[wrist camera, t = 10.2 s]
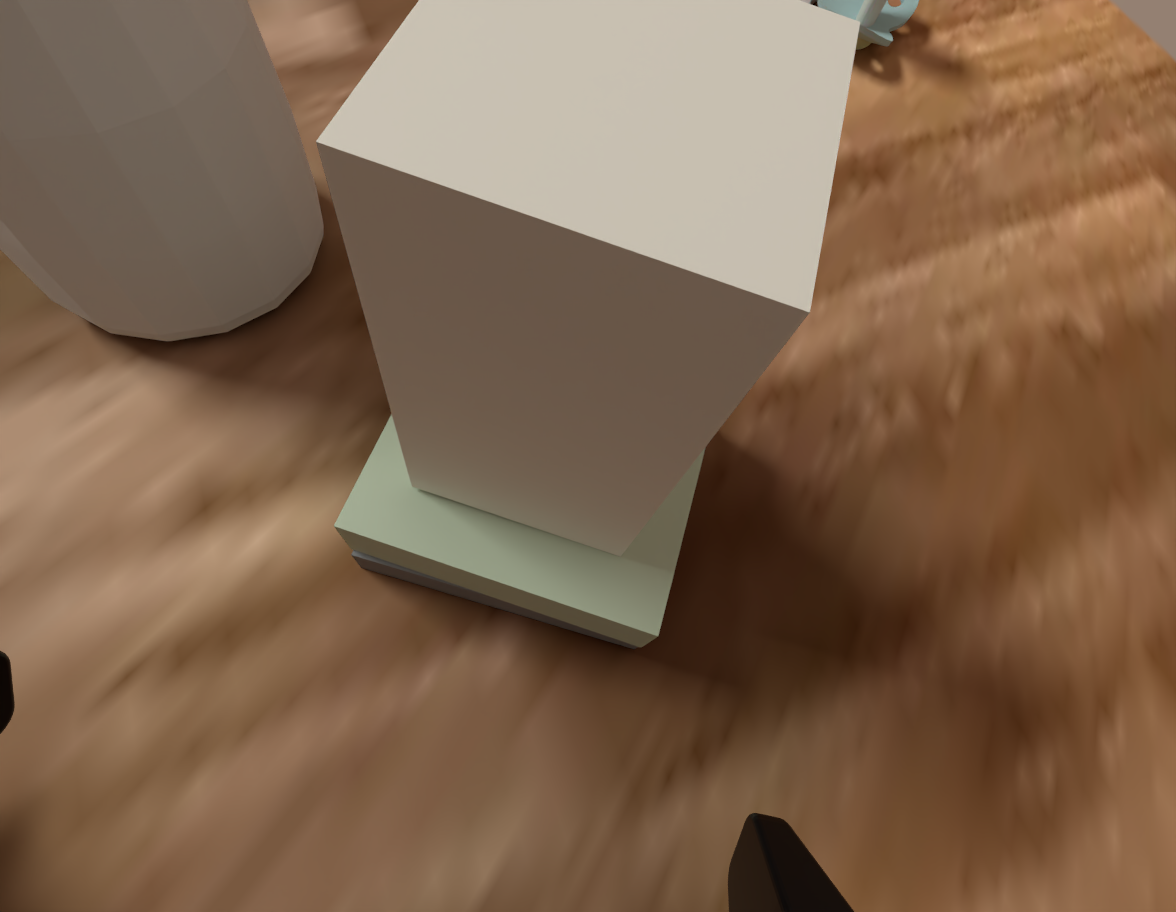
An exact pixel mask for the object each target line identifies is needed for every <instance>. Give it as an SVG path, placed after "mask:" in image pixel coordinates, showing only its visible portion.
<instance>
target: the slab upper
mask: <svg viewBox="0 0 1176 912" xmlns="http://www.w3.org/2000/svg"><path fill="white" fill-rule="evenodd" d="M705 448H706V447H705ZM705 448H704V450H703V451H702V452H701V454H700V455H699V456H698V457H697V459H696V460H695V461H694V463H693V464H692V465H691V466H690V468H689V469H688V470H687V472H686V473H685V474H684V476H683V477H682V478H681V479H680V481H679V482H678V483H677V485H676V486H675V487H674V488H673V490H672V491H671V492H670V494H669V495H668V496H667V497H666V499H665V500H664V501H663V503H662V504H661V505H660V506H659V508H658V509H657V510H656V512H655V513H654V514H653V516H652V517H651V518H650V519H649V521H648V522H647V523H646V525H645V526H644V527H643V528H642V530H641V531H640V532H639V534H638V535H637V536H636V537H635V539H634V540H633V541H632V543H631V544H630V545H629V547H628V548H627V549H626V550H625V552H624V553H623V554H622V556H621V557H620V556H617V555H614V554H611V553H608V552H605V551H602V550H599V549H596V548H593V547H590V546H587V545H584V544H581V543H578V542H575V541H572V540H569V539H566V538H563V537H560V536H557V535H554V534H551V533H548V532H545V531H542V530H540V529H537V528H534V527H531V526H528V525H525V524H522V523H519V522H516V521H513V520H510V519H507V518H504V517H501V516H498V515H495V514H492V513H489V512H486V511H483V510H480V509H477V508H474V507H471V506H468V505H465V504H462V503H459V502H456V501H453V500H450V499H448V498H445V497H442V496H439V495H436V494H433V493H430V492H427V491H424V490H421V489H418V488H415V487H412V485H411V482H410V478H409V475H408V471H407V467H406V464H405V460H404V457H403V453H402V449H401V446H400V442H399V439H398V435H397V431H396V428H395V424H394V421H393V417H392V414H391V416H390V418H389V420H388V422H387V424H386V426H385V428H384V430H383V432H382V434H381V436H380V437H379V439H378V441H377V443H376V445H375V447H374V449H373V451H372V453H371V455H370V457H369V459H368V461H367V463H366V465H365V467H364V468H363V470H362V472H361V474H360V476H359V478H358V480H357V482H356V484H355V486H354V488H353V490H352V492H351V494H350V496H349V497H348V499H347V501H346V503H345V505H344V507H343V509H342V511H341V513H340V515H339V517H338V519H337V521H336V523H335V525H334V527H335V528H336V530H337V531H338V532H339V534H340V535H341V536H342V538H343V539H344V540H345V541H346V543H347V544H348V545H349V547H350V548H351V549H353V550H355V551H358V552H361V553H364V554H367V555H370V556H373V557H376V558H379V559H382V560H385V561H388V562H391V563H394V564H397V565H400V566H402V567H405V568H408V569H411V570H414V571H417V572H420V573H423V574H426V575H429V576H432V577H435V578H438V579H441V580H444V581H446V582H449V583H452V584H455V585H458V586H461V587H464V588H467V589H470V590H473V591H476V592H479V593H482V594H485V595H488V596H491V597H493V598H496V599H499V600H502V601H505V602H508V603H511V604H514V605H517V606H520V607H523V608H526V609H529V610H532V611H535V612H538V613H540V614H543V615H546V616H549V617H552V618H555V619H558V620H561V621H564V622H567V623H570V624H573V625H576V626H579V627H582V628H584V629H587V630H590V631H593V632H596V633H599V634H602V635H605V636H608V637H611V638H614V639H617V640H620V641H623V642H626V643H629V644H631V645H634V646H637V647H640V648H641V647H643V646H644V645H646V644H647V643H649V642H651V641H652V640H654V639H655V638H657V637H658V636H659V632H660V628H661V624H662V620H663V616H664V612H665V608H666V604H667V600H668V596H669V592H670V588H671V584H672V580H673V576H674V572H675V568H676V564H677V560H678V556H679V552H680V548H681V544H682V540H683V536H684V532H685V528H686V524H687V520H688V516H689V512H690V508H691V504H692V500H693V496H694V492H695V488H696V484H697V480H698V476H699V472H700V468H701V464H702V460H703V456H704V452H705Z"/></svg>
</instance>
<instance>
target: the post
mask: <svg viewBox="0 0 1176 912" xmlns="http://www.w3.org/2000/svg"><path fill="white" fill-rule="evenodd" d="M859 27H860V22H859V21H856V20H853V19H851V18H848V17H845V16H842V15H839V14H837V13H834V12H831V11H828V10H825V9H822V8H820V7H817V6H814V5H811V4H808V3H806V2H803V1H800V0H419V1H418V2H417V4H416V5H415V7H414V8H413V9H412V11H411V12H410V13H409V15H408V16H407V18H406V19H405V20H404V22H403V23H402V24H401V26H400V27H399V28H398V30H397V31H396V33H395V34H394V35H393V37H392V38H391V39H390V41H389V42H388V44H387V45H386V46H385V48H384V49H383V50H382V52H381V53H380V55H379V56H378V57H377V59H376V60H375V61H374V63H373V64H372V66H371V67H370V68H369V70H368V71H367V72H366V74H365V75H364V77H363V78H362V79H361V81H360V82H359V83H358V85H357V86H356V87H355V89H354V90H353V92H352V93H351V94H350V96H349V97H348V98H347V100H346V101H345V103H344V104H343V105H342V107H341V108H340V109H339V111H338V112H337V114H336V115H335V116H334V118H333V119H332V120H331V122H330V123H329V125H328V126H327V127H326V129H325V130H324V131H323V133H322V134H321V136H320V137H319V138H318V140H317V141H316V143H317V147H318V151H319V154H320V158H321V161H322V165H323V169H324V172H325V176H326V179H327V183H328V187H329V190H330V194H331V197H332V201H333V205H334V208H335V212H336V215H337V219H338V223H339V226H340V230H341V233H342V237H343V241H344V244H345V248H346V251H347V255H348V259H349V262H350V266H351V269H352V273H353V277H354V280H355V284H356V287H357V291H358V295H359V298H360V302H361V305H362V309H363V313H364V316H365V320H366V323H367V327H368V331H369V334H370V338H371V341H372V345H373V349H374V352H375V356H376V359H377V363H378V367H379V370H380V374H381V377H382V381H383V385H384V388H385V392H386V395H387V399H388V403H389V406H390V410H391V413H392V417H393V421H394V424H395V428H396V431H397V435H398V439H399V442H400V446H401V449H402V453H403V457H404V460H405V464H406V467H407V471H408V475H409V478H410V482H411V485H412V487H415V488H418V489H421V490H424V491H427V492H430V493H433V494H436V495H439V496H442V497H445V498H448V499H450V500H453V501H456V502H459V503H462V504H465V505H468V506H471V507H474V508H477V509H480V510H483V511H486V512H489V513H492V514H495V515H498V516H501V517H504V518H507V519H510V520H513V521H516V522H519V523H522V524H525V525H528V526H531V527H534V528H537V529H540V530H542V531H545V532H548V533H551V534H554V535H557V536H560V537H563V538H566V539H569V540H572V541H575V542H578V543H581V544H584V545H587V546H590V547H593V548H596V549H599V550H602V551H605V552H608V553H611V554H614V555H617V556H620V557H621V556H622V554H623V553H624V552H625V550H626V549H627V548H628V547H629V545H630V544H631V543H632V541H633V540H634V539H635V537H636V536H637V535H638V534H639V532H640V531H641V530H642V528H643V527H644V526H645V525H646V523H647V522H648V521H649V519H650V518H651V517H652V516H653V514H654V513H655V512H656V510H657V509H658V508H659V506H660V505H661V504H662V503H663V501H664V500H665V499H666V497H667V496H668V495H669V494H670V492H671V491H672V490H673V488H674V487H675V486H676V485H677V483H678V482H679V481H680V479H681V478H682V477H683V476H684V474H685V473H686V472H687V470H688V469H689V468H690V466H691V465H692V464H693V463H694V461H695V460H696V459H697V457H698V456H699V455H700V454H701V452H702V451H703V450H704V448H705V447H706V446H707V445H708V443H709V442H710V441H711V439H712V438H713V437H714V435H715V434H716V433H717V432H718V430H719V429H720V428H721V426H722V425H723V424H724V423H725V421H726V420H727V419H728V417H729V416H730V415H731V414H732V412H733V411H734V410H735V408H736V407H737V406H738V404H739V403H740V402H741V401H742V399H743V398H744V397H745V395H746V394H747V393H748V392H749V390H750V389H751V388H752V386H753V385H754V384H755V383H756V381H757V380H758V379H759V377H760V376H761V375H762V373H763V372H764V371H765V370H766V368H767V367H768V366H769V364H770V363H771V362H772V361H773V359H774V358H775V357H776V355H777V354H778V353H779V352H780V350H781V349H782V348H783V346H784V345H785V344H786V343H787V341H788V340H789V339H790V337H791V336H792V335H793V333H794V332H795V331H796V330H797V328H798V327H799V326H800V324H801V323H802V322H803V321H804V319H805V318H806V317H807V315H808V314H809V313H810V308H811V303H812V297H813V291H814V285H815V280H816V274H817V268H818V262H819V257H820V251H821V245H822V239H823V234H824V228H825V222H826V216H827V211H828V205H829V199H830V193H831V188H832V182H833V176H834V170H835V165H836V159H837V153H838V147H839V142H840V136H841V130H842V124H843V119H844V113H845V107H846V101H847V96H848V90H849V84H850V78H851V73H852V67H853V61H854V55H855V50H856V44H857V38H858V32H859Z"/></svg>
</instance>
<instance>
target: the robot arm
mask: <svg viewBox="0 0 1176 912" xmlns="http://www.w3.org/2000/svg"><path fill="white" fill-rule="evenodd" d="M13 712H14V694H13V684H12V674H11V664H10V660H9V658H8V656H7V655H6V654H5V653H3V652H2V651H0V734H1V733H2V731H3V730H4V729H5V728H6V726H7V725H8V723H9V722H10V720H11V717H12V715H13ZM728 898H729V912H854V911H853V909H852V908H851V907H850V905H849V904H848V903H847V901H846V900H845V899H844V897H843V896H842V895H841V893H840V892H839V891H838V889H837V888H836V887H835V885H834V884H833V883H832V881H831V880H830V879H829V877H828V876H827V875H826V873H825V872H824V871H823V869H822V868H821V867H820V865H819V864H818V863H817V861H816V860H815V859H814V857H813V856H812V855H811V853H810V852H809V851H808V849H807V848H806V847H805V845H804V844H803V842H802V841H801V840H800V838H799V837H798V836H797V834H796V833H795V832H794V830H793V829H792V828H791V826H790V825H789V824H788V823H787V822H786V821H785V820H783V819H781V818H777V817H772V816H768V815H763V814H758V813H752V814H750V815H749V816H748V817H747V819H746V821H745V823H744V826H743V829H742V832H741V834H740V837H739V840H738V843H737V845H736V848H735V851H734V854H733V857H732V859H731V863H730V867H729V874H728Z"/></svg>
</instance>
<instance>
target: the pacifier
mask: <svg viewBox="0 0 1176 912" xmlns="http://www.w3.org/2000/svg"><path fill="white" fill-rule="evenodd" d="M800 1H803V2H806V3H808V4H811V5H812V4H813V3H814V2H816V1H817V3H818V6H819V7H820V8H822V9H825V10H828V11H831V12H834V13H837V14H839V15H842V16H845V17H848V18H851V19H853V20H856V21H859V22H860V27H859V32H858V38H857V44H856V50H858V49H863V48H865V47H867V46H869V45H870V44H871V43H874V44H878V45H882V46H889V45H890V43H891V42H892V41H893V37H892V35H891V33H890V32H891V31H894V30H896V29H898V28H900V27H901V26H902V25H904V24H905V23H906V22H907V21H908V19H909V18H910V17H911V16H912V14H913V13H914V11H915V9H916V7H917V5H918V2H919V0H900V1H901V3H902V4H901V5H900V6H898V7H892V6H890V5H889V4H888V0H800Z"/></svg>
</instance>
